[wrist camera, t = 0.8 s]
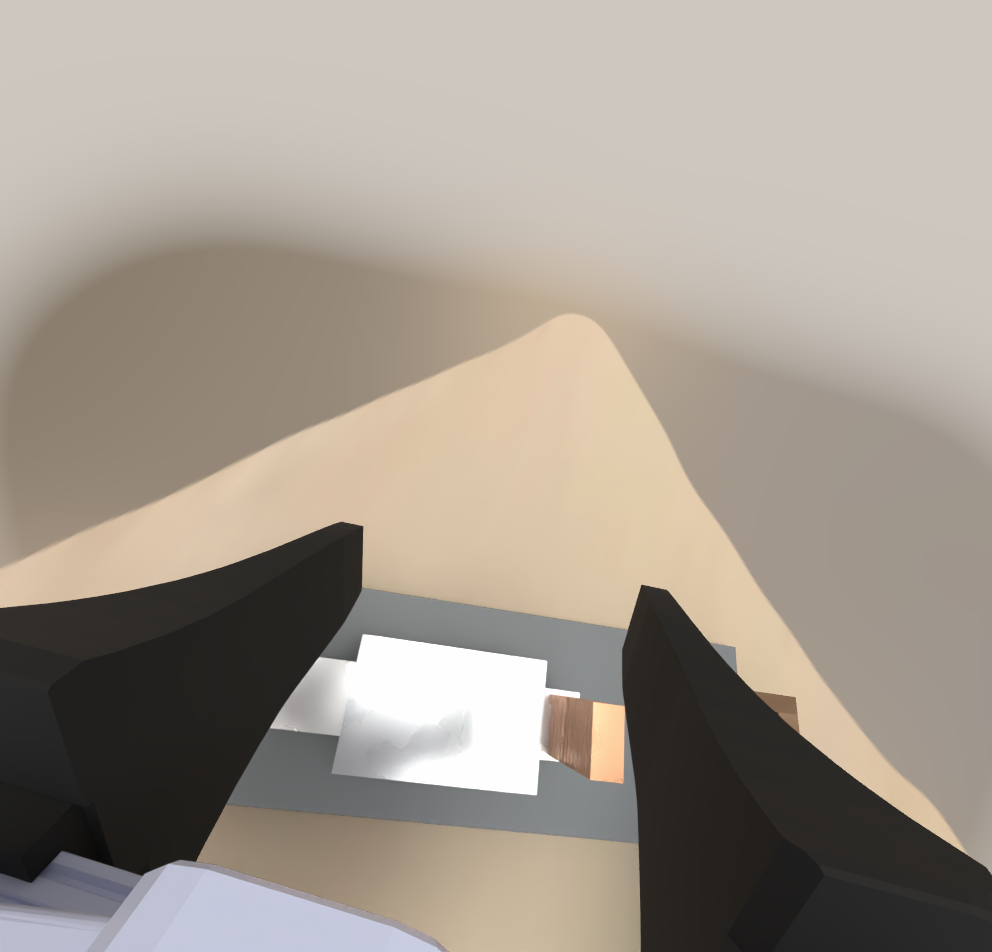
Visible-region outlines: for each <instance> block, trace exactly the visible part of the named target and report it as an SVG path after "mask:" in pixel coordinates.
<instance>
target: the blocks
mask: <svg viewBox="0 0 992 952" xmlns="http://www.w3.org/2000/svg"><path fill="white" fill-rule="evenodd" d="M355 667H356V662H354V661H347V660H340V659H332V658H325V657H319V658H318V659H317V660H316V662H315V663H314V664H313V666H312V667H311V669H310V670H309V671H308V673H307V674H306V675H305V677H304V678H303V679H302V681H301V682H300V683H299V685H298V686H297V687H296V689H295V690H294V691H293V693H292V694H291V695H290V697H289V698H288V700H287V701H286V703H285V704H284V706H283V707H282V709H281V710H280V712H279V713H278V715H277V717H276V718H275V720H274V722H273V723H272V725H271V727H270V728H274V729H283V730H291V731H300V732H309V733H317V734H326V735H334V736H340V733H341V728H342V724H343V719H344V715H345V711H346V706H347V702H348V697H349V693H350V689H351V684H352V680H353V675H354V671H355ZM624 724H625V706H621V705H615V704H610V703H604V702H599V701H594V700H588V699H583V698H580V693H577V692H570V691H564V690H557V689H550V688H545V694H544V707H543V720H542V732H541V745H540V758H539V759H541V760H550V761H558V762H561V763H562V764H564V765H566V766H567V767H569V768H571V769H573V770H574V771H576V772H578V773H579V774H581V775H583V776H584V777H586V778H588V779H590V780H595V781H604V782H613V783H622V784H623V780H624Z"/></svg>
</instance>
